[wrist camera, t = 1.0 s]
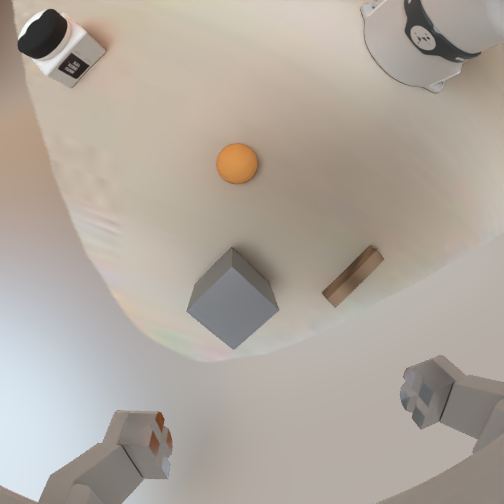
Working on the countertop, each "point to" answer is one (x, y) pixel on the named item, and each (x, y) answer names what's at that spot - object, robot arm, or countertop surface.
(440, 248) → the countertop surface
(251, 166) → the ball
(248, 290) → the matte gray box
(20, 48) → the container
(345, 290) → the bar
